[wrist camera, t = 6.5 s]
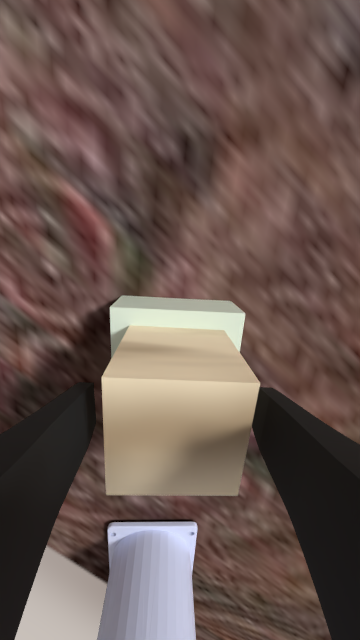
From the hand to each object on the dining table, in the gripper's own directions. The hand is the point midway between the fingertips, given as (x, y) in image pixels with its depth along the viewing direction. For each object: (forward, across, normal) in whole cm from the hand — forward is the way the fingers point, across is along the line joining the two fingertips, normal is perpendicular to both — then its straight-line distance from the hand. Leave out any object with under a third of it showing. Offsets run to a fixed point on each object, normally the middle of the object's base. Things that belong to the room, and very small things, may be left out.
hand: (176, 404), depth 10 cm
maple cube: (+3, 0, 0) cm, 3 cm away
